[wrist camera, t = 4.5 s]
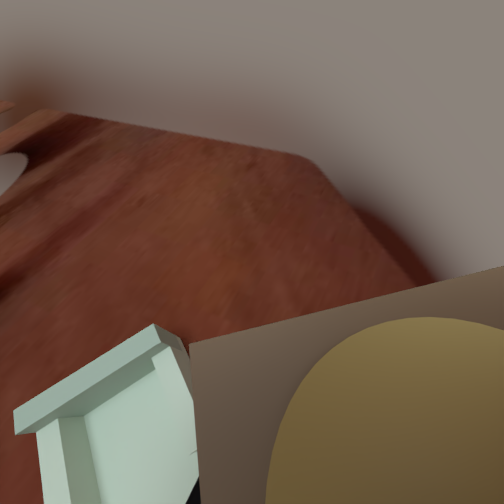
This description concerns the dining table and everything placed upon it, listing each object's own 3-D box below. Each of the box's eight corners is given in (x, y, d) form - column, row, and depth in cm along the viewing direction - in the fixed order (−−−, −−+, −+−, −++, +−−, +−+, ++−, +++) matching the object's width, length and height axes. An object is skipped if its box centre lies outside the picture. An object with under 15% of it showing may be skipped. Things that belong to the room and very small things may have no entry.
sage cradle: (269, 536, 16) (259, 587, 11) (117, 661, 14) (41, 775, 10) (180, 337, 23) (153, 323, 18) (70, 408, 21) (13, 410, 17)
